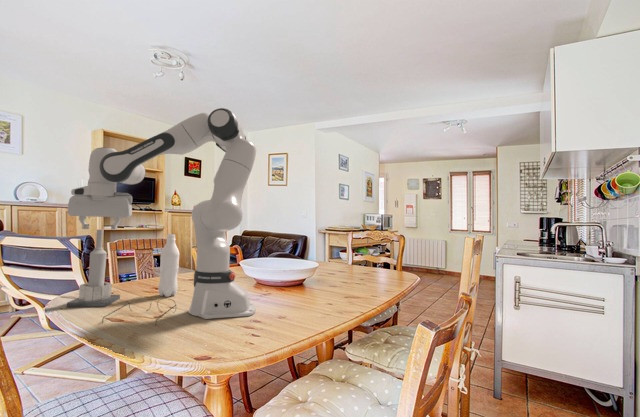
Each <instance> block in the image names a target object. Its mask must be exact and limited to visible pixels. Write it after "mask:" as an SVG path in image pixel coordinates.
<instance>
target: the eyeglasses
mask: <svg viewBox="0 0 640 417" xmlns="http://www.w3.org/2000/svg"><path fill="white" fill-rule="evenodd" d="M134 299H143V297H139V296H138V297H134V298H131V300H130V301H129V302H128V303H126V304H124V305H122V306H120V307H119V308H117V309H115V310H113V311H112V312H109V313H107V314H106V315H104V316H103V317H102V320H101V324H104V319H105V318H106V317H108V316H110V315H112V314H113V313H115V312H117V311H119V310H120V309H122V308H124V307H126V306H127V305H128V308H129V310H130V311H131V312H133V310H132V309H131V302H132V300H134ZM145 299H147V300H149V301H150V302H152V300H151V298H149V297H145ZM154 299H156V300H157V299H158V300H157V301H156V305H157V309H158V310H159V312H162V314H161V315H160V316H158V317H157V318H156V319H155V321H154V322H155V323H154V326H155V327H157V321H158V320H160V318H162V317H163V316H164V315H165V314H167V313H168V312H170V311H171V310H172V309H174V308H175V310H174V312H172V313H175V312H176V311H177V308H176V307H177V303H176V301H175V300H174V299H173V298H169V300H171V301H173V302H174V304H175V305H173V306H172V307H171V308H169V309H168V310H166V311H165V312H164V313H163V311H162V310H161V309H160V308H159V302H160V301H161V300H163V298H158V297H153V300H154ZM151 307H152V303H150V305H149V308H148V309H147V310H145V311H146V312H147V311H149V310H150V309H151Z"/></svg>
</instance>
